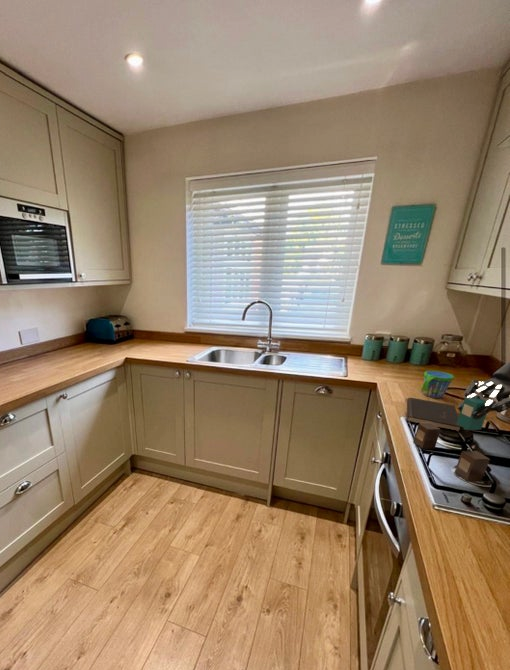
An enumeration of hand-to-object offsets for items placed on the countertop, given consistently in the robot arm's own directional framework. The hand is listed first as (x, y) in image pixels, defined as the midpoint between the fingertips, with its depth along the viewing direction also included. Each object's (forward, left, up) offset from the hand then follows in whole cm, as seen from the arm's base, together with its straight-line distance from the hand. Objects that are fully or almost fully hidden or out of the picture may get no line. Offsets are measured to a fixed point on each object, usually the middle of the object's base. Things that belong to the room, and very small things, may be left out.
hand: (466, 413), depth 92 cm
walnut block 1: (+6, -5, -14) cm, 16 cm away
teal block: (-2, 0, -4) cm, 5 cm away
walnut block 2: (+4, +12, -14) cm, 19 cm away
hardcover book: (-13, -32, -15) cm, 37 cm away
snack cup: (-28, -55, -15) cm, 63 cm away
